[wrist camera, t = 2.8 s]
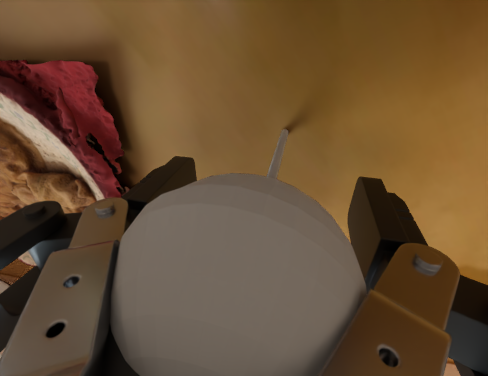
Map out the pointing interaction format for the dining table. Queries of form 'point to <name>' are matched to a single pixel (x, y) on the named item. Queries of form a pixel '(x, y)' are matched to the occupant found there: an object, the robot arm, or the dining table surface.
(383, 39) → the dining table surface
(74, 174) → the plate with food
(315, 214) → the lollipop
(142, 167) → the dining table surface
